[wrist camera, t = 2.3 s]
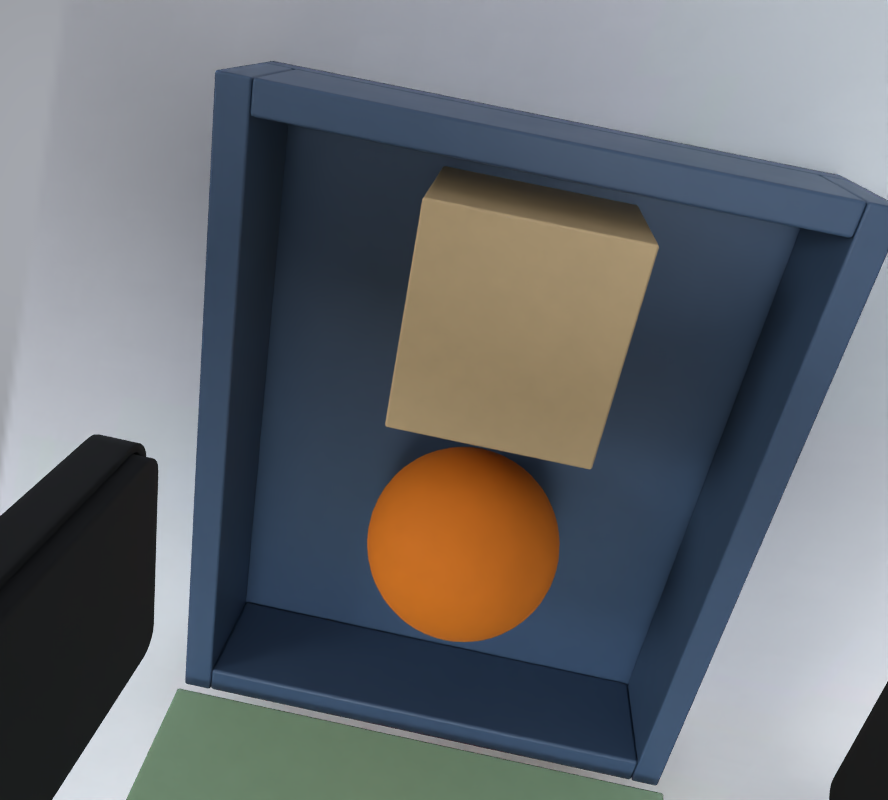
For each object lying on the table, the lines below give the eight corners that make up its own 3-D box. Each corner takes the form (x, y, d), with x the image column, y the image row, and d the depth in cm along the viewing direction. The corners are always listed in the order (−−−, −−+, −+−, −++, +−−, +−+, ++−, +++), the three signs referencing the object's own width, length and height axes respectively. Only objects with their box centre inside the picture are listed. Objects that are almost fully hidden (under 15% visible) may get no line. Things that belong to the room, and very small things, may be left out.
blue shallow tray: (271, 60, 20) (214, 69, 17) (842, 175, 20) (907, 209, 17) (229, 598, 28) (184, 684, 25) (641, 687, 28) (657, 786, 24)
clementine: (399, 397, 23) (363, 493, 19) (576, 435, 23) (586, 541, 18) (374, 543, 25) (336, 661, 21) (535, 578, 25) (534, 704, 21)
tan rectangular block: (443, 165, 20) (422, 196, 17) (638, 204, 20) (659, 245, 17) (408, 362, 23) (383, 427, 19) (583, 398, 23) (591, 471, 19)
